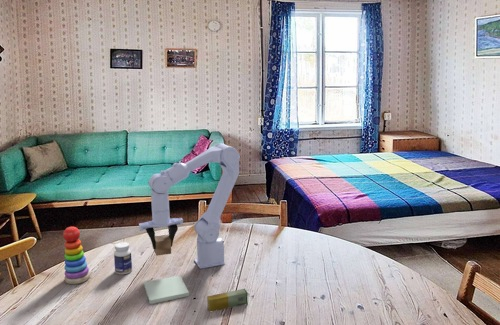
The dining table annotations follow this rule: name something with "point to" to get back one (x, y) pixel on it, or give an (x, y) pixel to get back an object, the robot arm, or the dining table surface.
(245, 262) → the dining table surface
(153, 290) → the sage tile
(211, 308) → the medication box
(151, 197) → the robot arm
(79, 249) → the stacking toy
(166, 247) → the walnut cube
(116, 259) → the pill bottle
